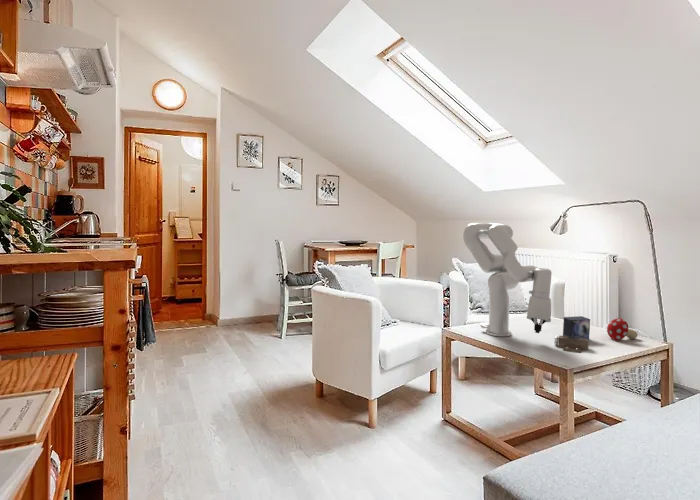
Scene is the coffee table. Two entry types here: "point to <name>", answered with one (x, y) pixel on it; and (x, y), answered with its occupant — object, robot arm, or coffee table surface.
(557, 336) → the hinge pin
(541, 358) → the coffee table surface
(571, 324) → the small box
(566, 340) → the hinge
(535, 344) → the coffee table surface
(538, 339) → the coffee table surface
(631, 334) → the decorative mushroom
